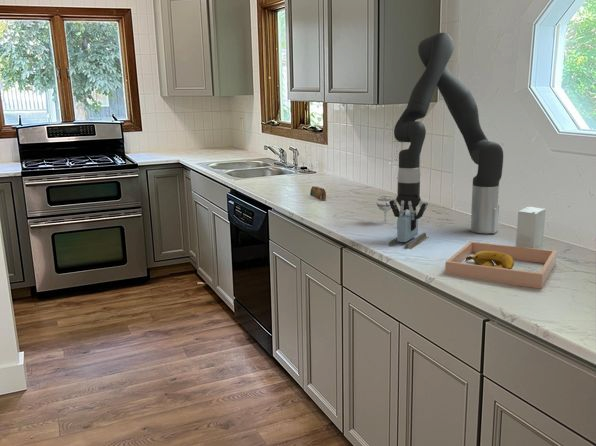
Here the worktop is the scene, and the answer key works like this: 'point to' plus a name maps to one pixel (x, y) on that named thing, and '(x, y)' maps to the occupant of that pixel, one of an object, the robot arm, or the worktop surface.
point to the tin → (318, 193)
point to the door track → (412, 242)
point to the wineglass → (384, 204)
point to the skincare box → (530, 227)
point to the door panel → (406, 228)
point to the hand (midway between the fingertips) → (407, 229)
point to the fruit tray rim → (503, 274)
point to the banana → (492, 259)
